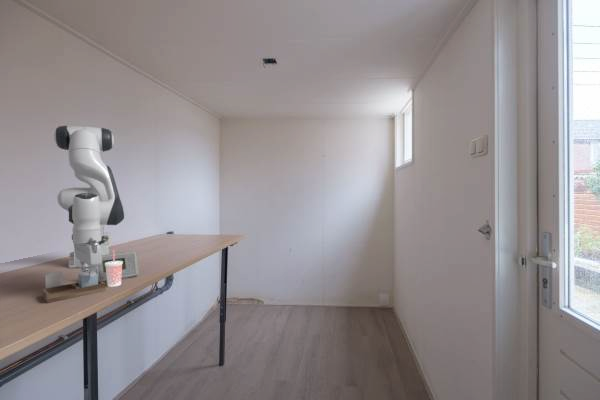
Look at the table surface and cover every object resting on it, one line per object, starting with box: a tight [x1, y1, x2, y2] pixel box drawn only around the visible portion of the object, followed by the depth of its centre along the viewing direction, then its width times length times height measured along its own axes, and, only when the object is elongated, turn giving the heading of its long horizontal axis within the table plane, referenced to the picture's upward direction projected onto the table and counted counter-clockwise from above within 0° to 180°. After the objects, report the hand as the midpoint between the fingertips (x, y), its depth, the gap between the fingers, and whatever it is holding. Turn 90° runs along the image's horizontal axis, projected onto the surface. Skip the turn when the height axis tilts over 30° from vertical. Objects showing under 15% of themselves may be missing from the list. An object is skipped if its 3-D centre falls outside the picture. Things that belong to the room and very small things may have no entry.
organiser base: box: [41, 279, 107, 304], centre depth 111 cm, size 9×17×3 cm, turn 138°
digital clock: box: [96, 251, 139, 283], centre depth 130 cm, size 16×9×11 cm, turn 122°
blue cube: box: [77, 272, 98, 288], centre depth 114 cm, size 5×5×5 cm
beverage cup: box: [105, 249, 123, 288], centre depth 121 cm, size 6×6×14 cm
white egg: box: [44, 271, 64, 289], centre depth 116 cm, size 5×5×6 cm
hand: (88, 273), depth 115 cm, fingers open, 8 cm apart
